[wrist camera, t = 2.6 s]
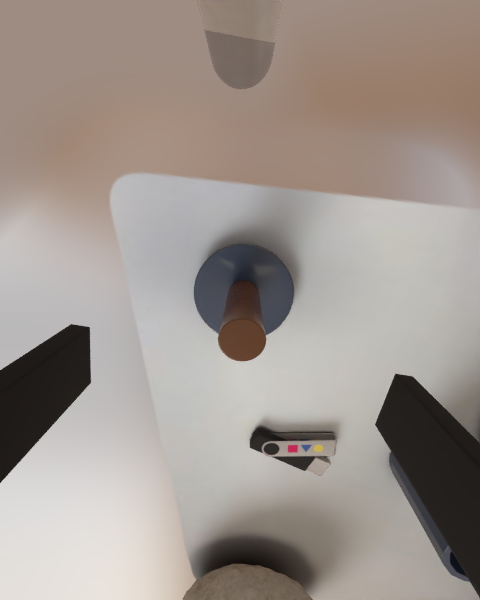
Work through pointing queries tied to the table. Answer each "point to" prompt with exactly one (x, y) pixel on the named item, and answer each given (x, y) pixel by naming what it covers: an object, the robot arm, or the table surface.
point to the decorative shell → (245, 585)
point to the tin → (427, 522)
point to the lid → (243, 298)
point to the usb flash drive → (297, 448)
